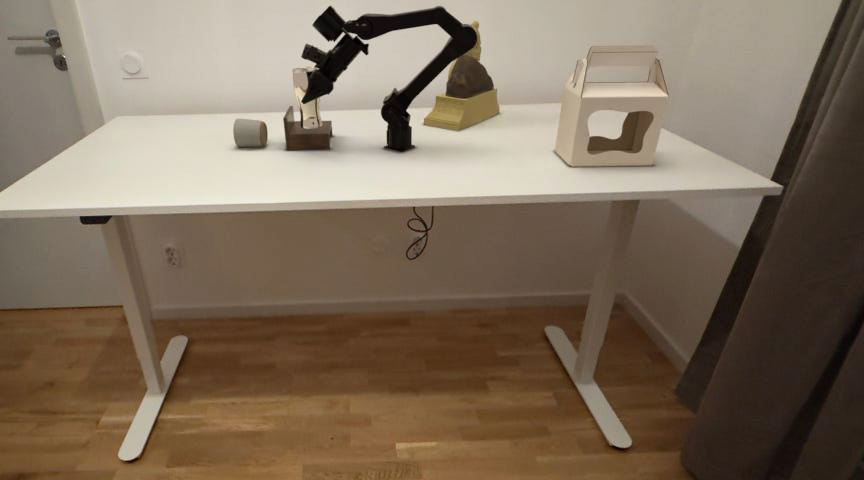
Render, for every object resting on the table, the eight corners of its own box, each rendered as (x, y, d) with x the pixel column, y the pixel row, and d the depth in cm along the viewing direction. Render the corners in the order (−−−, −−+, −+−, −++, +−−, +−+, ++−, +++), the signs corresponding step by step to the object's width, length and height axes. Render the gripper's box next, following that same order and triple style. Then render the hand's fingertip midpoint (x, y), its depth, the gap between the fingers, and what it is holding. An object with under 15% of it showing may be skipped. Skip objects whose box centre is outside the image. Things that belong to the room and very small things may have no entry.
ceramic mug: (264, 149, 149) (260, 122, 145) (235, 149, 149) (230, 122, 145) (272, 139, 158) (269, 113, 155) (244, 139, 158) (240, 113, 155)
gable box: (568, 166, 137) (587, 50, 123) (553, 151, 148) (569, 42, 134) (653, 165, 138) (682, 49, 124) (631, 150, 149) (655, 42, 135)
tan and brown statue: (466, 107, 192) (472, 16, 177) (499, 113, 186) (507, 18, 171) (423, 124, 173) (426, 23, 158) (458, 130, 166) (464, 25, 151)
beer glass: (322, 129, 145) (316, 71, 137) (296, 130, 145) (289, 72, 137) (325, 121, 151) (319, 66, 143) (301, 122, 151) (294, 67, 143)
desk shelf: (332, 135, 161) (330, 105, 157) (329, 149, 149) (327, 117, 145) (292, 136, 161) (289, 106, 156) (286, 150, 149) (283, 118, 144)
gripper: (320, 28, 144) (284, 72, 149) (315, 36, 128) (275, 85, 133) (351, 58, 148) (315, 100, 153) (350, 70, 132) (309, 116, 137)
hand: (303, 100), depth 144 cm, fingers closed on beer glass, 6 cm apart
